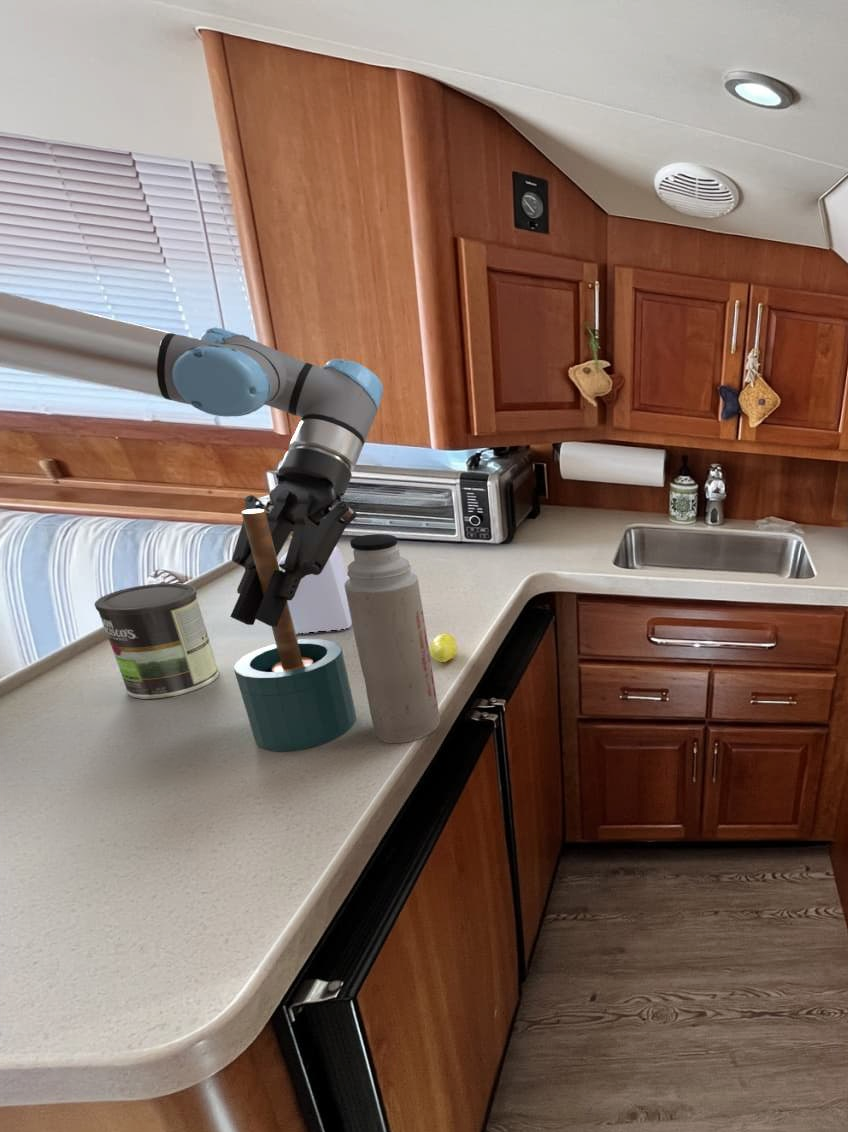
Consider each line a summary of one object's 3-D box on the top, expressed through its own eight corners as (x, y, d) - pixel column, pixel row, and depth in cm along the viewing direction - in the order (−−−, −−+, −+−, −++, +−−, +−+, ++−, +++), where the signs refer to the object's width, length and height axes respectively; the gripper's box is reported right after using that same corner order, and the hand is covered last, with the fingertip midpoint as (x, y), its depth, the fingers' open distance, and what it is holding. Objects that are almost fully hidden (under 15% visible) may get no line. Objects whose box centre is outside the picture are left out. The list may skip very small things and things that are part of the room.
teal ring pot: (247, 760, 81) (225, 684, 77) (262, 715, 89) (243, 646, 85) (353, 739, 86) (338, 668, 82) (358, 699, 95) (344, 633, 91)
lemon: (460, 646, 113) (458, 626, 111) (456, 667, 106) (453, 646, 105) (433, 648, 111) (430, 628, 110) (428, 670, 104) (424, 649, 103)
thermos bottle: (445, 709, 94) (417, 528, 84) (433, 740, 87) (401, 547, 77) (384, 714, 92) (348, 529, 82) (366, 746, 85) (324, 548, 75)
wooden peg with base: (278, 708, 83) (225, 517, 73) (282, 692, 87) (233, 507, 77) (319, 701, 85) (273, 514, 76) (322, 686, 89) (279, 505, 79)
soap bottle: (279, 648, 107) (246, 521, 99) (300, 616, 119) (272, 500, 110) (347, 642, 111) (321, 519, 103) (360, 611, 123) (338, 499, 114)
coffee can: (153, 706, 89) (120, 615, 84) (110, 688, 93) (77, 599, 87) (236, 675, 98) (211, 591, 93) (195, 659, 102) (169, 578, 96)
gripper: (391, 481, 90) (335, 636, 81) (283, 473, 90) (214, 628, 81) (361, 449, 83) (296, 614, 74) (243, 440, 83) (163, 605, 74)
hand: (254, 621), depth 78 cm, fingers closed on wooden peg with base, 2 cm apart
